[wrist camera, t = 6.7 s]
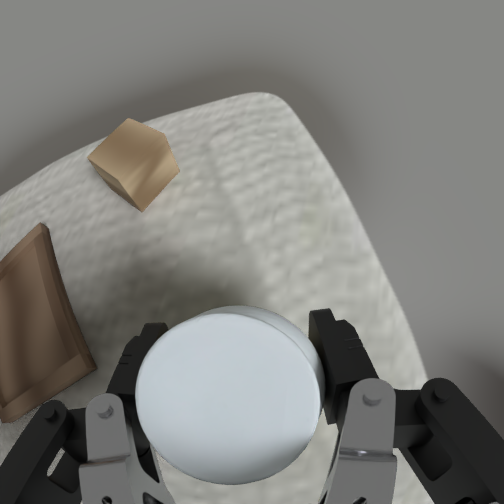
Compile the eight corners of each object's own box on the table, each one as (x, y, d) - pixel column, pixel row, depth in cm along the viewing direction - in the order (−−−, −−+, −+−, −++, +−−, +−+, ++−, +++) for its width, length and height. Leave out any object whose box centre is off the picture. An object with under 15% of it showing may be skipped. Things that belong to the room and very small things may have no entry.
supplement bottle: (311, 342, 14) (383, 317, 5) (282, 432, 13) (307, 527, 4) (217, 314, 15) (152, 251, 6) (187, 402, 13) (89, 450, 4)
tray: (12, 422, 12) (2, 423, 11) (-22, 301, 16) (-30, 297, 15) (97, 368, 14) (86, 368, 13) (48, 228, 18) (40, 222, 17)
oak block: (142, 213, 18) (117, 179, 14) (111, 189, 19) (86, 157, 15) (180, 171, 19) (164, 133, 15) (146, 153, 20) (128, 117, 16)
